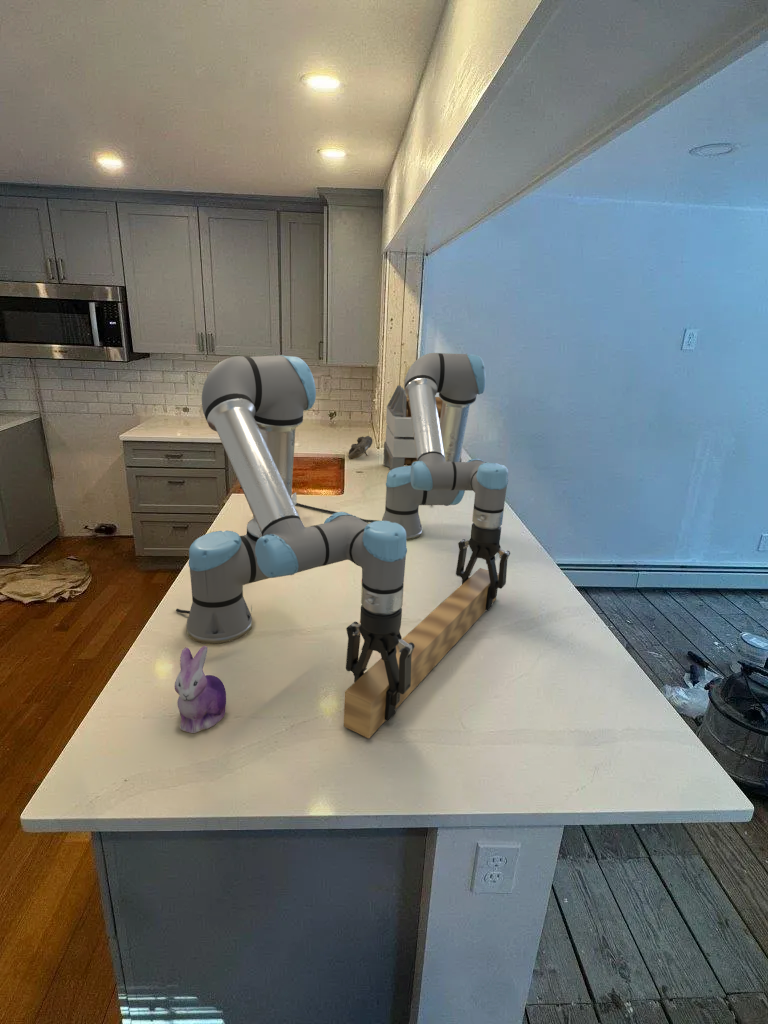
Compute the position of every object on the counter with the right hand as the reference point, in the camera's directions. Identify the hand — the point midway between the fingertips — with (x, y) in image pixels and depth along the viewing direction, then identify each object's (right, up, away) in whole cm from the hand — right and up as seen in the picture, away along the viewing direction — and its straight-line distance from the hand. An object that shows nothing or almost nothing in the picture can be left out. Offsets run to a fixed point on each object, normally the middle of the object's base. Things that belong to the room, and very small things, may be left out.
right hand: (477, 604), depth 152 cm
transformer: (-8, +44, +123) cm, 131 cm away
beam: (-13, -7, -21) cm, 26 cm away
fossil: (-38, +55, +150) cm, 164 cm away
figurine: (-59, -14, -45) cm, 76 cm away
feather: (-5, +31, +89) cm, 95 cm away
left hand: (-27, -14, -41) cm, 51 cm away
